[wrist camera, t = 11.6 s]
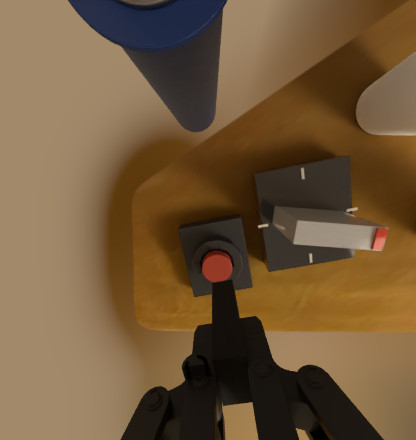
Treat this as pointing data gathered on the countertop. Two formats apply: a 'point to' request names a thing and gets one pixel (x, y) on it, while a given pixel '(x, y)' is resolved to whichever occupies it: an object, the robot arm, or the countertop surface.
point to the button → (217, 266)
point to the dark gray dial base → (301, 198)
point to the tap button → (215, 240)
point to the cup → (390, 102)
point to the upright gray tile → (328, 228)
